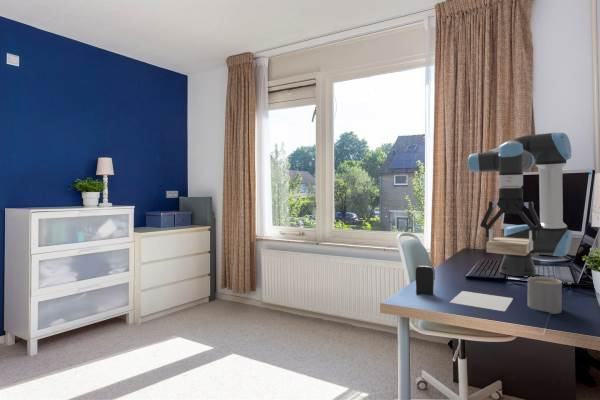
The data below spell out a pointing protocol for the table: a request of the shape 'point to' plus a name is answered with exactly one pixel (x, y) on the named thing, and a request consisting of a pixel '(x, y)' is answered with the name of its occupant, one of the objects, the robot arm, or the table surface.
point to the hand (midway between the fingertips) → (510, 248)
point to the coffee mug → (545, 294)
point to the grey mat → (482, 300)
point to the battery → (425, 280)
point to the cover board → (508, 246)
